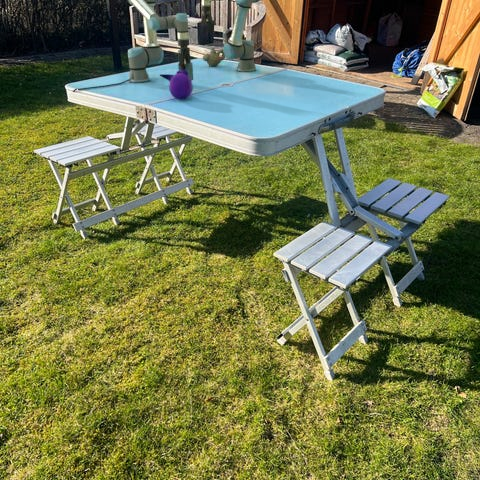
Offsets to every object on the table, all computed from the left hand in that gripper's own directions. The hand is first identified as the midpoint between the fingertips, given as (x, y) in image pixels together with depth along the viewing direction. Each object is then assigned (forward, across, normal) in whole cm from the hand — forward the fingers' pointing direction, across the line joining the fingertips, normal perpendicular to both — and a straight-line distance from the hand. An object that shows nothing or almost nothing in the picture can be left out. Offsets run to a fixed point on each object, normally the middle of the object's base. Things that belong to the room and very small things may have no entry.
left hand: (185, 75), depth 312 cm
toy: (+8, -29, -8) cm, 31 cm away
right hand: (-17, +78, +15) cm, 82 cm away
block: (+3, 0, 0) cm, 3 cm away
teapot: (+9, +86, +13) cm, 87 cm away
